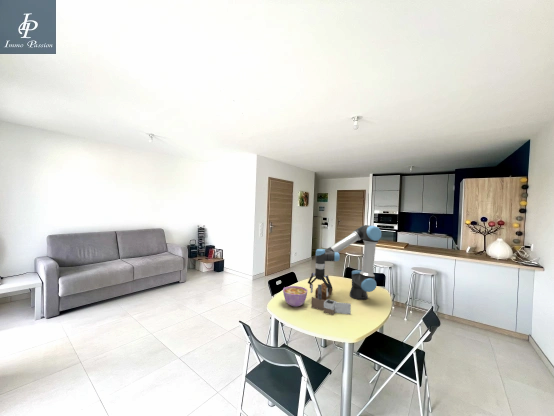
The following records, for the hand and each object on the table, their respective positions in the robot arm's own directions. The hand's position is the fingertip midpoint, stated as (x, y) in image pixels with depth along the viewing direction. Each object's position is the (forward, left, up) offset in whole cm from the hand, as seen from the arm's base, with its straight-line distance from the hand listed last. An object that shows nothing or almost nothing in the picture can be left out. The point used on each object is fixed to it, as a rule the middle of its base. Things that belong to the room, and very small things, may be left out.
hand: (319, 294), depth 176 cm
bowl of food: (+13, -16, -8) cm, 22 cm away
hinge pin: (0, 0, -8) cm, 8 cm away
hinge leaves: (+9, +12, -8) cm, 17 cm away
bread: (-17, -2, -8) cm, 19 cm away
